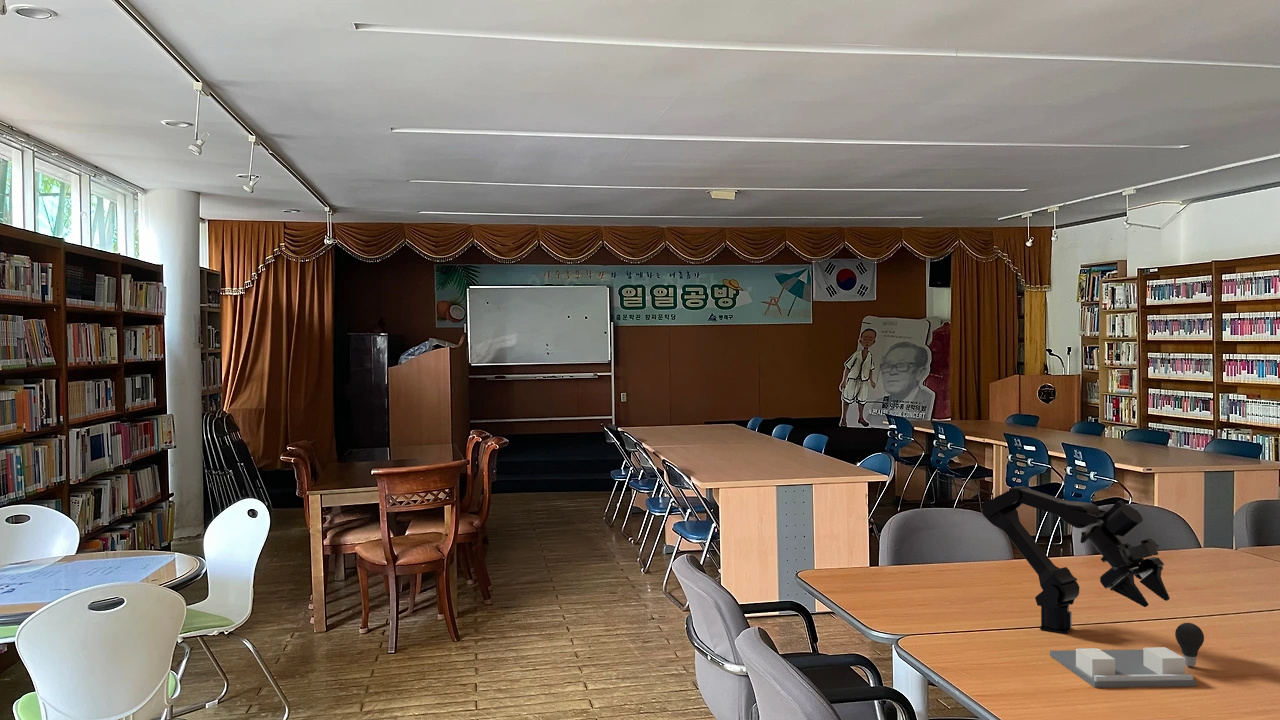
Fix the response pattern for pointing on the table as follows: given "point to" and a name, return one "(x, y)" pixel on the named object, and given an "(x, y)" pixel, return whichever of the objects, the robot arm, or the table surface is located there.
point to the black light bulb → (1189, 641)
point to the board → (1126, 667)
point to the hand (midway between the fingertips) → (1157, 603)
